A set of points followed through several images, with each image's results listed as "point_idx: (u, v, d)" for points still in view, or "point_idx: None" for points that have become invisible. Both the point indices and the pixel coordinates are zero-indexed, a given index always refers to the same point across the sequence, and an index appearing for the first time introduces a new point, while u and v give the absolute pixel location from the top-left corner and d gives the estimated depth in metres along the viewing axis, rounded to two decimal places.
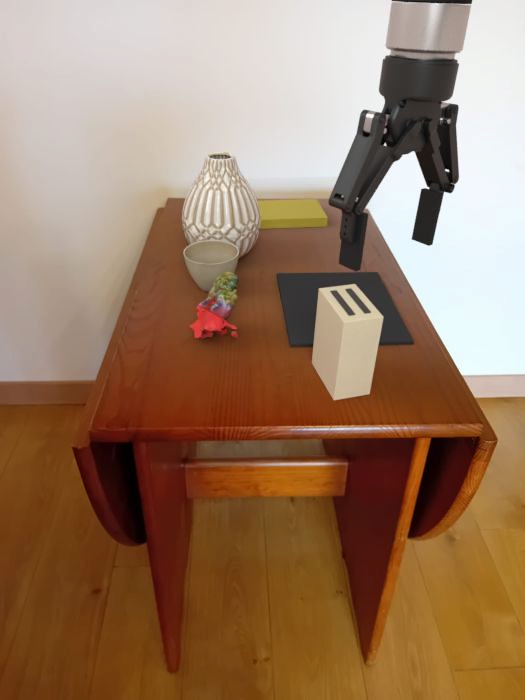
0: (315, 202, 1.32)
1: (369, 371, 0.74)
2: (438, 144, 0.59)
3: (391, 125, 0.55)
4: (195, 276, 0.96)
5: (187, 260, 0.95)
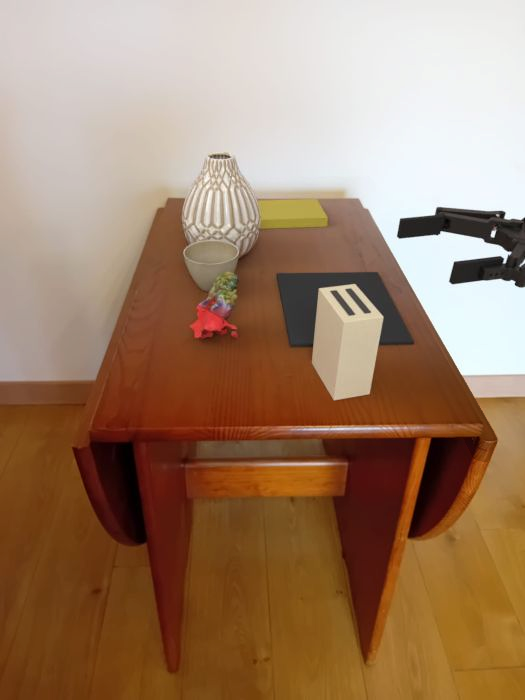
0: (315, 202, 1.32)
1: (369, 371, 0.74)
2: None
3: None
4: (195, 276, 0.96)
5: (187, 260, 0.95)
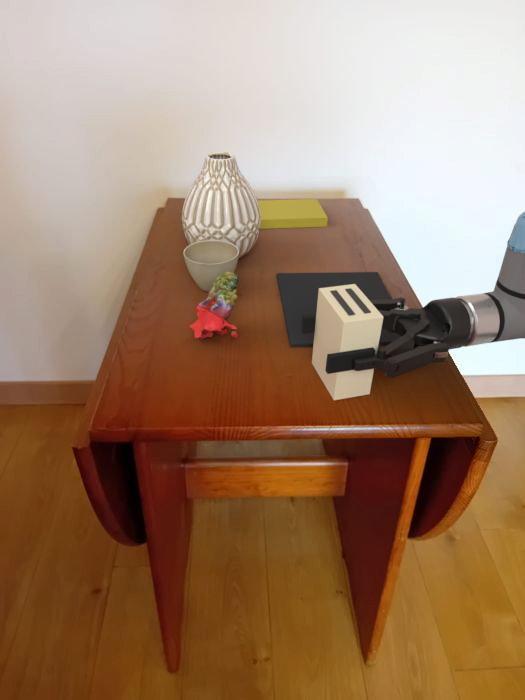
0: (315, 202, 1.32)
1: (369, 371, 0.74)
2: (414, 331, 0.74)
3: (406, 309, 0.81)
4: (195, 276, 0.96)
5: (187, 260, 0.95)
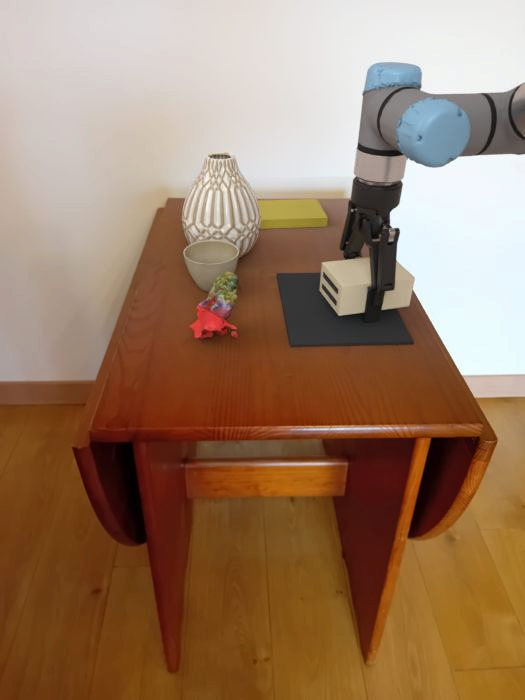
0: (315, 202, 1.32)
1: None
2: (368, 242, 0.84)
3: None
4: (195, 276, 0.96)
5: (187, 260, 0.95)
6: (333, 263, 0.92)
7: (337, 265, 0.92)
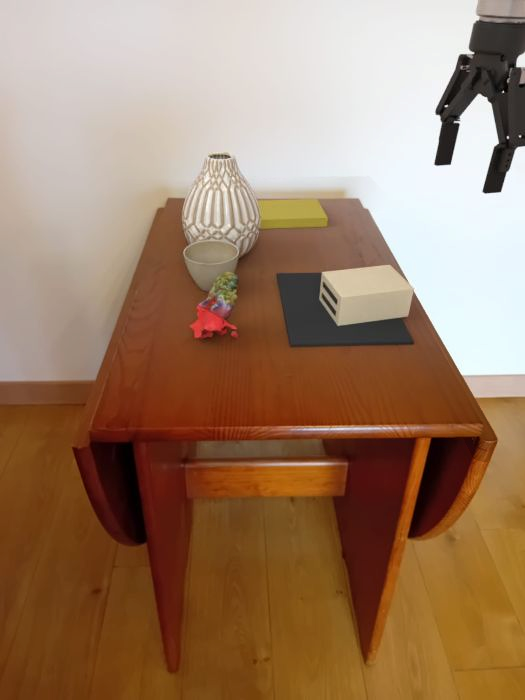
0: (315, 202, 1.32)
1: (390, 295, 0.89)
2: (491, 95, 0.74)
3: None
4: (195, 276, 0.96)
5: (187, 260, 0.95)
6: (333, 273, 0.93)
7: (337, 275, 0.93)
